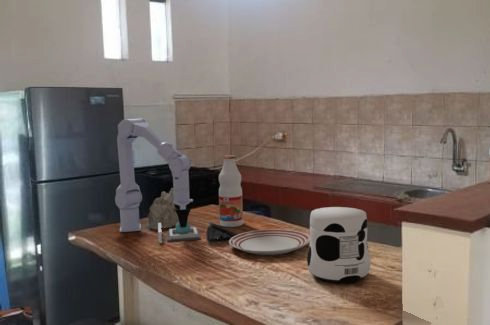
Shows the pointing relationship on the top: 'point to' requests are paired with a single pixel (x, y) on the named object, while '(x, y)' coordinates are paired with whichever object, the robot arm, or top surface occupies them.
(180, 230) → the ball
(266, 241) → the dinner plate
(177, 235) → the mat
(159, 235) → the wall
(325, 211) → the milk container
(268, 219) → the top surface
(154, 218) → the jagged rock
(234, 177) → the fruit juice
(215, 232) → the chocolate cake
